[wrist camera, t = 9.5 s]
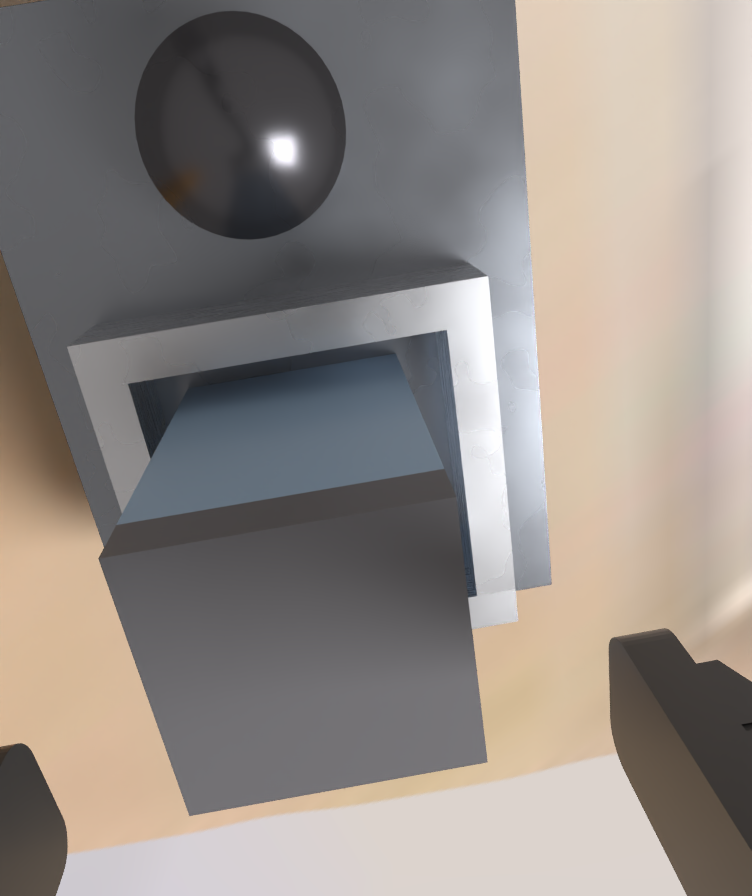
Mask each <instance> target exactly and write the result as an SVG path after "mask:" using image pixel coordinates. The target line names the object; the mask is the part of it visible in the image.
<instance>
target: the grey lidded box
mask: <svg viewBox="0 0 752 896" xmlns="http://www.w3.org/2000/svg"><path fill="white" fill-rule="evenodd" d="M99 561H100V564H101V567H102V570H103V573H104V576H105V578H106V581H107V584H108V587H109V590H110V593H111V595H112V598H113V601H114V604H115V607H116V610H117V612H118V615H119V618H120V621H121V624H122V626H123V629H124V632H125V635H126V638H127V641H128V643H129V646H130V649H131V652H132V655H133V658H134V660H135V663H136V666H137V669H138V672H139V675H140V677H141V680H142V683H143V686H144V689H145V692H146V694H147V697H148V700H149V703H150V706H151V708H152V711H153V714H154V717H155V720H156V723H157V725H158V728H159V731H160V734H161V737H162V740H163V742H164V745H165V748H166V751H167V754H168V757H169V759H170V762H171V765H172V768H173V771H174V773H175V776H176V779H177V782H178V785H179V788H180V790H181V793H182V796H183V799H184V802H185V805H186V807H187V810H188V813H189V816H192V815H198V814H203V813H209V812H214V811H220V810H225V809H231V808H236V807H242V806H247V805H253V804H259V803H264V802H270V801H275V800H281V799H286V798H292V797H297V796H303V795H308V794H314V793H320V792H325V791H331V790H336V789H342V788H347V787H353V786H358V785H364V784H370V783H375V782H381V781H386V780H392V779H397V778H403V777H408V776H414V775H419V774H425V773H431V772H436V771H442V770H447V769H453V768H458V767H464V766H469V765H475V764H481V763H486V762H487V754H486V745H485V737H484V728H483V720H482V711H481V703H480V694H479V686H478V677H477V669H476V660H475V652H474V643H473V635H472V626H471V618H470V609H469V600H468V592H467V583H466V575H465V566H464V558H463V549H462V541H461V532H460V524H459V515H458V507H457V498H456V495H455V493H454V490H453V488H452V485H451V483H450V481H449V478H448V476H447V474H446V471H445V469H444V466H443V464H442V462H441V459H440V457H439V455H438V452H437V450H436V447H435V445H434V443H433V440H432V438H431V436H430V433H429V431H428V428H427V426H426V424H425V421H424V419H423V417H422V414H421V412H420V410H419V407H418V405H417V402H416V400H415V398H414V395H413V393H412V391H411V388H410V386H409V383H408V381H407V379H406V376H405V374H404V372H403V369H402V367H401V364H400V362H399V360H398V357H397V355H396V353H395V354H389V355H384V356H378V357H372V358H366V359H360V360H354V361H348V362H342V363H336V364H330V365H324V366H318V367H312V368H306V369H300V370H294V371H289V372H283V373H277V374H271V375H265V376H259V377H253V378H247V379H241V380H235V381H229V382H223V383H217V384H211V385H205V386H199V387H194V388H188V390H187V392H186V393H185V395H184V397H183V399H182V401H181V403H180V405H179V407H178V409H177V411H176V412H175V414H174V416H173V418H172V420H171V422H170V424H169V426H168V428H167V430H166V431H165V433H164V435H163V437H162V439H161V441H160V443H159V445H158V447H157V449H156V450H155V452H154V454H153V456H152V458H151V460H150V462H149V464H148V466H147V468H146V469H145V471H144V473H143V475H142V477H141V479H140V481H139V483H138V485H137V487H136V488H135V490H134V492H133V494H132V496H131V498H130V500H129V502H128V504H127V506H126V507H125V509H124V511H123V513H122V515H121V517H120V519H119V521H118V523H117V525H116V526H115V528H114V530H113V532H112V534H111V536H110V538H109V540H108V542H107V544H106V545H105V547H104V549H103V551H102V553H101V555H100V557H99Z"/></svg>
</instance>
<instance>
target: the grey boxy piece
mask: <svg viewBox="0 0 752 896" xmlns="http://www.w3.org/2000/svg"><path fill="white" fill-rule="evenodd" d="M0 250H1V253H2V256H3V259H4V261H5V264H6V267H7V270H8V273H9V276H10V279H11V282H12V284H13V287H14V290H15V293H16V296H17V299H18V302H19V304H20V307H21V310H22V313H23V316H24V319H25V322H26V325H27V327H28V330H29V333H30V336H31V339H32V342H33V345H34V348H35V350H36V353H37V356H38V359H39V362H40V365H41V368H42V370H43V373H44V376H45V379H46V382H47V385H48V388H49V391H50V393H51V396H52V399H53V402H54V405H55V408H56V411H57V413H58V416H59V419H60V422H61V425H62V428H63V431H64V434H65V436H66V439H67V442H68V445H69V448H70V451H71V454H72V456H73V459H74V462H75V465H76V468H77V471H78V474H79V477H80V479H81V482H82V485H83V488H84V491H85V494H86V497H87V499H88V502H89V505H90V508H91V511H92V514H93V517H94V520H95V522H96V525H97V528H98V531H99V534H100V537H101V540H102V542H103V545H104V547H105V545H106V544H107V542H108V540H109V538H110V536H111V534H112V532H113V530H114V528H115V526H116V525H117V523H118V521H119V519H120V517H121V515H122V513H123V511H124V509H125V507H126V506H127V504H128V502H129V500H130V498H131V496H132V494H133V492H134V490H135V488H136V487H137V485H138V483H139V481H140V479H141V477H142V475H143V473H144V471H145V469H146V468H147V466H148V464H149V462H150V460H151V458H152V456H153V454H154V452H155V450H156V449H157V447H158V445H159V443H160V441H161V439H162V437H163V435H164V433H165V431H166V430H167V428H168V426H169V424H170V422H171V420H172V418H173V416H174V414H175V412H176V411H177V409H178V407H179V405H180V403H181V401H182V399H183V397H184V395H185V393H186V392H187V390H188V388H194V387H199V386H205V385H211V384H217V383H223V382H229V381H235V380H241V379H247V378H253V377H259V376H265V375H271V374H277V373H283V372H289V371H294V370H300V369H306V368H312V367H318V366H324V365H330V364H336V363H342V362H348V361H354V360H360V359H366V358H372V357H378V356H384V355H389V354H395V353H396V355H397V357H398V360H399V362H400V364H401V367H402V369H403V372H404V374H405V376H406V379H407V381H408V383H409V386H410V388H411V391H412V393H413V395H414V398H415V400H416V402H417V405H418V407H419V410H420V412H421V414H422V417H423V419H424V421H425V424H426V426H427V428H428V431H429V433H430V436H431V438H432V440H433V443H434V445H435V447H436V450H437V452H438V455H439V457H440V459H441V462H442V464H443V466H444V469H445V471H446V474H447V476H448V478H449V481H450V483H451V485H452V488H453V490H454V493H455V495H456V498H457V507H458V515H459V524H460V532H461V541H462V549H463V558H464V566H465V575H466V583H467V592H468V600H469V609H470V618H471V626H472V629H477V628H482V627H488V626H493V625H499V624H505V623H510V622H516V621H518V613H517V602H516V591H517V590H523V589H529V588H534V587H540V586H546V585H551V584H552V582H551V566H550V550H549V534H548V518H547V502H546V486H545V470H544V454H543V438H542V422H541V407H540V391H539V375H538V359H537V343H536V327H535V311H534V295H533V279H532V263H531V247H530V231H529V215H528V199H527V183H526V167H525V151H524V135H523V119H522V103H521V87H520V71H519V55H518V39H517V23H516V7H515V0H45V1H39V2H32V3H26V4H20V5H13V6H7V7H1V8H0Z"/></svg>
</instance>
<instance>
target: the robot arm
mask: <svg viewBox="0 0 752 896" xmlns="http://www.w3.org/2000/svg"><path fill="white" fill-rule="evenodd" d="M609 681H610V719H611V729H612V735H613V739H614V743H615V747H616V750H617V753H618V756H619V759H620V762H621V764H622V766H623V769H624V771H625V773H626V775H627V777H628V779H629V781H630V783H631V785H632V787H633V789H634V791H635V793H636V795H637V797H638V799H639V801H640V803H641V805H642V807H643V809H644V811H645V813H646V814H647V816H648V819H649V821H650V823H651V825H652V826H653V829H654V831H655V832H656V835H657V837H658V838H659V841H660V842H661V845H662V846H663V848H664V850H665V852H666V854H667V856H668V858H669V860H670V862H671V864H672V866H673V868H674V870H675V872H676V874H677V876H678V878H679V880H680V882H681V884H682V886H683V888H684V890H685V892H686V894H687V896H752V682H751V681H749V680H748V679H746V678H745V677H743V676H742V675H740V674H739V673H737V672H735V671H734V670H732V669H731V668H729V667H728V666H726V665H725V664H723V663H722V662H720V661H718V660H714V661H709V662H703V663H698V664H696V663H695V662H694V660H693V659H692V658H691V656H690V655H689V654H688V652H687V651H686V650H685V648H684V647H683V646H682V644H681V643H680V641H679V640H678V639H677V637H676V636H675V635H674V634H673V633H672V632H671V631H670V630H668V629H665V628H664V629H658V630H653V631H647V632H642V633H636V634H631V635H625V636H620V637H614V638H612V639H611V640H610V643H609ZM66 858H67V831H66V826H65V822H64V819H63V817H62V815H61V812H60V810H59V808H58V806H57V804H56V802H55V800H54V798H53V795H52V793H51V791H50V789H49V787H48V785H47V783H46V780H45V778H44V776H43V774H42V772H41V770H40V768H39V766H38V763H37V761H36V759H35V757H34V755H33V753H32V751H31V750H30V749H29V747H28V746H26V745H25V744H22V743H20V744H13V745H8V746H2V747H0V896H56V893H57V890H58V887H59V884H60V881H61V878H62V875H63V872H64V869H65V864H66Z"/></svg>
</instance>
